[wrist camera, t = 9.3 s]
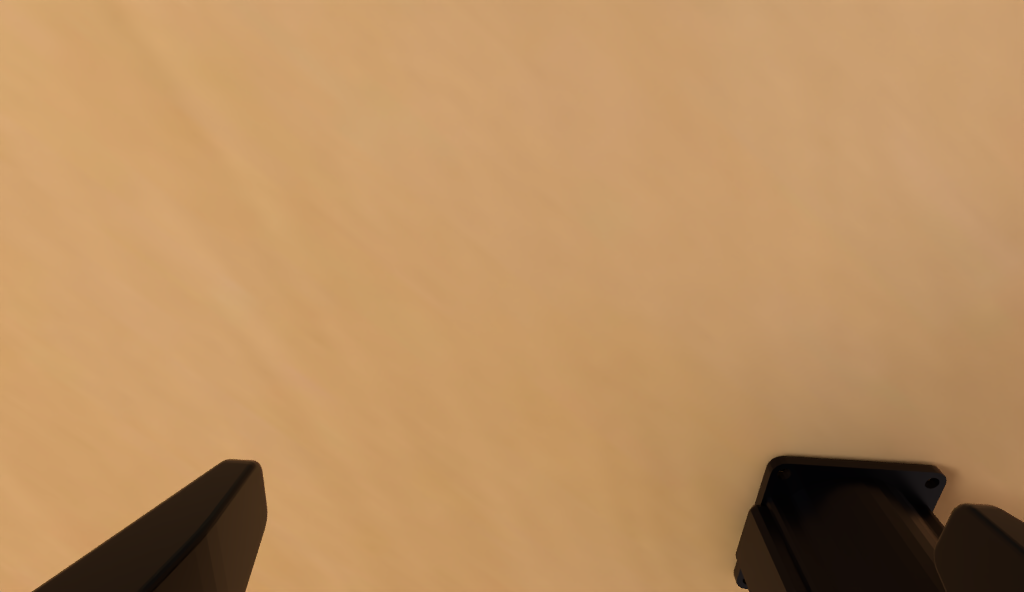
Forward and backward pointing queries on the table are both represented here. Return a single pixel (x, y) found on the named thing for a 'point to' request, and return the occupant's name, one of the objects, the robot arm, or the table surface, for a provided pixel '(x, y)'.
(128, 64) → the table surface
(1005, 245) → the table surface
